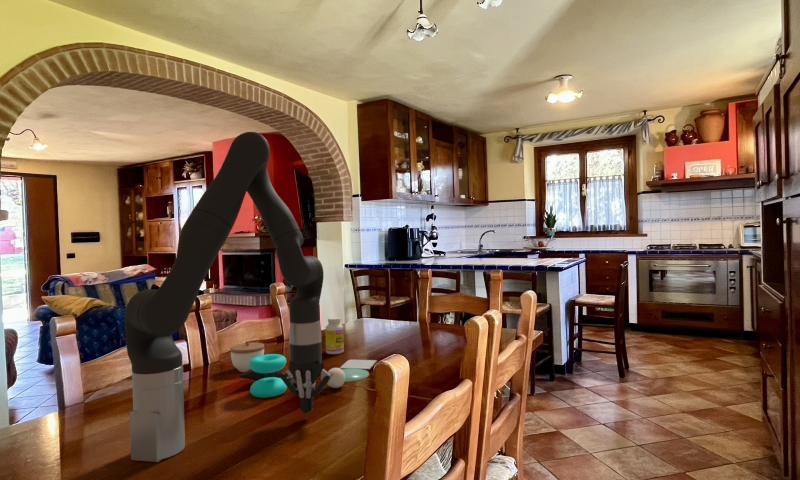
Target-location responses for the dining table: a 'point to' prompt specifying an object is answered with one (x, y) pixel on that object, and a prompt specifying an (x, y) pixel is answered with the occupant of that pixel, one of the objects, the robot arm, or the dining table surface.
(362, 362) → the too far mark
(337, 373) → the ball
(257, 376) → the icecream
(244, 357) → the lidded jar
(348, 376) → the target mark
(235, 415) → the dining table surface
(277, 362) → the donuts
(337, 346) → the supplement bottle
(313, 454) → the dining table surface
